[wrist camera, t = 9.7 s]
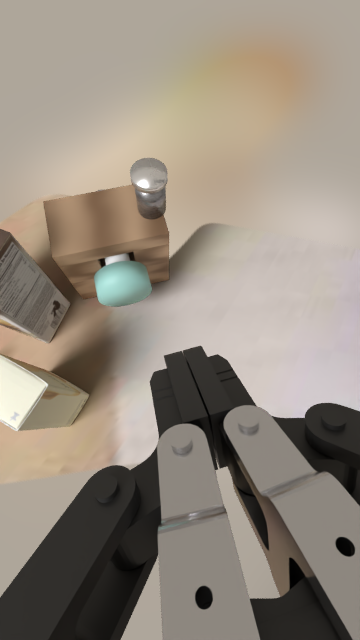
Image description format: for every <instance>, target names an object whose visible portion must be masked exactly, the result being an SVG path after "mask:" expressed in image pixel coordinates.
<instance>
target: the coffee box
mask: <svg viewBox="0 0 360 640" xmlns="http://www.w3.org/2000/svg"><path fill="white" fill-rule="evenodd" d="M69 306H70V302H69V301H68V300H67V299H66V298H65V297H64V295H63V294H62V293H61V292H60V291H59V289H58V288H57V287H56V286H55V285H54V284H53V282H52V281H51V280H50V279H49V278H48V276H47V275H46V274H45V273H44V272H43V271H42V269H41V268H40V267H39V266H38V265H37V263H36V262H35V261H34V260H33V259H32V258H31V257H30V255H29V254H28V253H27V252H26V251H25V250H24V248H23V247H22V246H21V245H20V244H19V243H18V241H17V240H16V239H15V238H14V237H13V235H12V234H11V233H10V232H7V231H4V230H2V229H0V325H2V326H5V327H7V328H10V329H12V330H15V331H17V332H20V333H23V334H25V335H28V336H30V337H33V338H35V339H38V340H40V341H43V342H46V343H50V341H51V339H52V337H53V335H54V334H55V332H56V330H57V328H58V326H59V324H60V323H61V321H62V319H63V317H64V315H65V313H66V312H67V310H68V308H69Z"/></svg>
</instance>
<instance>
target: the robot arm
mask: <svg viewBox="0 0 360 640" xmlns="http://www.w3.org/2000/svg"><path fill="white" fill-rule="evenodd" d="M183 354H184V355H183ZM164 358H165V362H166V366H167V369H163V370H159V371H156V372H154V373H153V375H152V378H151V380H150V385H151V391H152V397H153V403H154V408H155V414H156V420H157V426H158V431H159V441H158V445H157V447H156V449H155V450H154V452H153V453H152V454H151V456H150V457H149V458H148V459H146V460H145V461H144V462H142V463H141V464H139V465H138V466H136V467H135V468H133V469H131V470H129V469H128V468H126V467H123V466H118V465H115V466H109V467H106V468H104V469H102V470H100V471H98V472H97V473H96V474H94V475H93V476H92V477H91V478H90V479H89V480H88V482H87V483H86V484H85V485H84V487H83V488H82V489H81V491H80V492H79V493H78V495H77V496H76V497H75V499H74V500H73V501H72V503H71V504H70V505H69V507H68V508H67V509H66V511H65V512H64V514H63V515H62V516H61V517H60V519H59V520H58V521H57V523H56V524H55V525H54V527H53V528H52V529H51V531H50V532H49V533H48V535H47V536H46V537H45V539H44V540H43V541H42V543H41V544H40V545H39V547H38V548H37V549H36V551H35V552H34V553H33V555H32V556H31V557H30V559H29V560H28V561H27V563H26V564H25V565H24V567H23V568H22V569H21V571H20V572H19V573H18V575H17V576H16V577H15V579H14V580H13V581H12V583H11V584H10V585H9V587H8V588H7V589H6V591H5V592H4V593H3V595H2V596H1V597H0V640H120V639H121V637H122V635H123V633H124V631H125V628H126V626H127V624H128V622H129V619H130V617H131V615H132V612H133V610H134V608H135V606H136V604H137V602H138V599H139V597H140V595H141V593H142V590H143V588H144V586H145V584H146V581H147V579H148V577H149V575H150V572H151V570H152V568H153V565H154V564H155V562H156V559H157V556H158V555H159V574H160V595H161V612H162V614H161V615H162V633H163V640H360V411H357V410H354V409H351V408H348V407H345V406H341V405H338V404H333V403H321V404H317V405H314V406H312V407H311V408H309V409H308V411H307V412H306V414H305V418H278V417H273V416H271V415H270V414H269V413H268V412H267V411H265V410H264V409H262V408H260V407H257V406H256V405H255V403H254V401H253V400H252V398H251V397H250V395H249V394H248V392H247V390H246V389H245V387H244V386H243V384H242V383H241V381H240V379H239V378H238V377H237V375H236V373H235V372H234V371H233V368H232V367H231V365H230V364H229V362H228V361H227V360H226V359H224V358H223V357H221V356H219V355H218V354H217V355H214V356H210V357H207V355H206V354H205V352H204V350H203V348H202V346H198V347H194V348H190V349H187V350H183V352H182V351H180V352H176V353H172V354H168V355H165V356H164ZM216 459H217V462H218V464H219V467H220V468H223V467H226V466H228V469H229V471H230V474H231V476H232V481H233V487H234V490H235V493H236V495H237V497H238V499H239V501H240V503H241V505H242V508H243V510H244V512H245V514H246V516H247V518H248V520H249V522H250V524H251V526H252V529H253V531H254V533H255V535H256V537H257V539H258V541H259V543H260V546H261V548H262V550H263V552H264V554H265V556H266V559H267V561H268V564H269V567H270V570H271V574H272V577H273V580H274V582H275V585H276V587H277V590H278V592H279V595H280V597H279V598H274V599H249V595H248V591H247V588H246V583H245V580H244V576H243V572H242V568H241V564H240V560H239V557H238V553H237V549H236V546H235V541H234V538H233V534H232V530H231V526H230V523H229V519H228V515H227V512H226V509H225V507H224V504H223V500H222V496H221V492H220V488H219V485H218V481H217V476H216V471H215V470H217V469H218V467H217V462H216Z"/></svg>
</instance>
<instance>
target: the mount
mask: <svg viewBox="0 0 360 640" xmlns="http://www.w3.org/2000/svg"><path fill="white" fill-rule="evenodd" d="M43 203H44V209H45V215H46V221H47V228H48V234H49V240H50V247H51V253H52V258H53V259H54V261H55V262H56V263H57V265H58V266H59V268H60V269H61V270H62V272H63V273H64V274H65V276H66V277H67V278H68V280H69V281H70V282H71V284H72V285H73V286H74V288H75V289H76V290H77V292H78V293H79V294H80V296H81V297H82V298H83V300H84V299H88V298H92V297H97V292H96V287H95V282H94V276H95V274H96V272H97V271H98V270H99V269H101V268H102V267H104V266H106V263H105V259H104V258H106V257H110V256H115V255H120V254H124V253H128V254H129V258H130V261H136V262H139V263H142V264H143V265H145V267H146V268H147V272H148V276H149V280H150V283H151V284H153V283H157V282H161V281H166V280H169V231H168V228H167V225H166V222H165V218H164V215H162V216H161V217H160V218H158V219H154V220H150V219H146V218H144V217H142V216H141V215H140V214H139V212H138V207H137V201H136V194H135V188H134V186H133V185H129V186H123V187H117V188H112V189H107V190H102V191H96V192H91V193H86V194H81V195H75V196H70V197H65V198H59V199H54V200H49V201H44V202H43Z"/></svg>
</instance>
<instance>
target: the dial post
mask: <svg viewBox="0 0 360 640" xmlns="http://www.w3.org/2000/svg"><path fill="white" fill-rule="evenodd" d="M130 176H131V182H132V185H133V186H134V188H135V194H136V201H137V207H138V212H139V214H140V215H141V216H142V217H144V218H146V219H150V220H154V219H158V218H160V217H161V216H162V215H163V214H164V213H165V210H166V200H165V199H166V196H165V186H166V184H167V169H166V166H165V165H164V164H163V163H162V162H161V161H159V160H157V159H154V158H144V159H140V160H138V161H136V162H135V163H134V164H133V165H132V167H131V170H130Z"/></svg>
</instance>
